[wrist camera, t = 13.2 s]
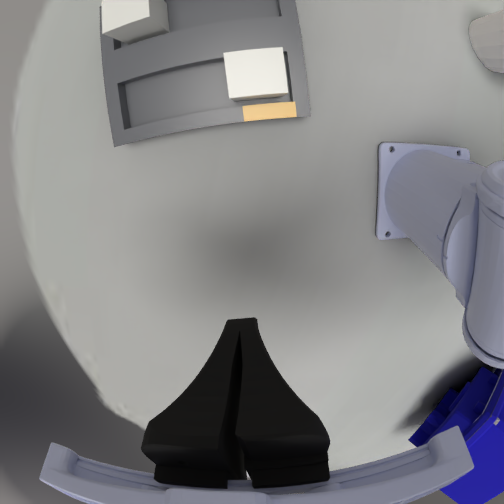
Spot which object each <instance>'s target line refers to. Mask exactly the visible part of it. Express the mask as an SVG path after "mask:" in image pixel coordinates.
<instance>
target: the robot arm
mask: <svg viewBox="0 0 504 504" xmlns="http://www.w3.org/2000/svg"><path fill="white" fill-rule="evenodd" d="M390 146H392V147H393V150H392V151H391V152H390V151H389V147H390ZM457 151H458V155H457ZM388 231H389V233H388V234H387V235H385V234H386V232H388ZM376 236H377V238H378V239H380V240H387V239H397V238H408V237H409V238H410V239H411V240H412V241H413V242H414V244H415V245H416V246H417V247H418V248H419V249H420V250H421V251H422V252H423V253H424V254H425V255H426V256H427V257H428V258H429V259H430V260H431V261H432V262H433V263H434V264H435V266H436V267H437V268H438V269H439V270H440V271H441V272H442V273H443V274H444V275H445V277H446V278H447V279H448V280H449V281H450V283H451V284H452V285H453V286H454V287H455V289H456V297H457V299H458V300H459V301H460V302H461V304H462V305H463V306H464V307H465V308H466V309H465V312H464V316H463V322H462V329H463V335H464V339H465V341H466V343H467V345H468V347H469V348H470V350H471V351H472V353H473V354H474V355H475V356H476V357H477V358H479V359H480V360H481V361H483V362H484V363H486V364H488V365H490V366H493V367H496V368H500V369H504V160H502V161H497V162H494V163H492V164H490V165H489V166H488V167H487V168H486V167H484V166H482V165H479V164H477V163H474V162H472V161H470V152H469V150H468V149H467V148H462V147H453V146H443V145H431V144H417V143H396V142H383V143H381V144H380V145H379V182H378V208H377V225H376ZM329 445H330V438H329V435H328V433H327V431H326V429H325V427H324V425H323V423H322V422H321V420H320V418H319V417H318V416H317V415H316V414H315V413H314V412H313V411H312V410H311V409H310V408H309V407H308V406H306V405H305V403H304V402H303V401H302V400H301V399H300V398H299V397H298V396H297V395H296V394H295V392H294V391H293V390H292V389H291V388H290V387H289V385H288V384H287V383H286V381H285V380H284V379H283V377H282V376H281V374H280V373H279V371H278V370H277V368H276V367H275V365H274V363H273V361H272V360H271V358H270V356H269V354H268V352H267V350H266V348H265V346H264V343H263V341H262V339H261V336H260V333H259V329H258V323H257V319H256V318H243V319H231V320H228V321H227V322H226V325H225V327H224V330H223V332H222V334H221V336H220V338H219V341H218V343H217V344H216V346H215V348H214V350H213V352H212V354H211V355H210V357H209V359H208V360H207V362H206V363H205V365H204V367H203V368H202V370H201V371H200V372H199V374H198V375H197V376H196V378H195V379H194V380H193V382H192V383H191V384H190V385H189V386H188V387H187V389H186V390H185V391H184V392H183V393H182V394H181V395H180V396H179V397H178V398H177V399H176V400H175V401H174V402H173V403H172V404H171V405H170V406H168V407H167V408H166V409H165V410H164V411H163V412H161V413H160V414H159V415H157V416H156V417H155V418H153V419H152V420H151V421H149V423H148V425H147V428H146V431H145V433H144V438H143V442H142V446H141V450H142V452H143V453H144V454H145V455H146V456H147V457H148V458H149V459H150V460H152V461H153V462H154V463H155V464H156V468H155V473H154V474H153V473H147V472H141V471H136V470H131V469H126V468H121V467H117V466H113V465H109V464H105V463H101V462H98V461H94V460H91V459H87V458H84V457H81V456H78V455H77V454H76V453H75V452H74V451H72V450H71V449H69V448H67V447H64V446H61V445H59V444H56V443H53V442H52V443H51V445H50V448H49V451H48V454H47V456H46V459H45V462H44V465H43V468H42V472H41V474H40V480H42V481H43V482H45V483H46V484H48V485H50V486H52V487H53V488H55V489H57V490H59V491H61V492H63V493H64V494H66V495H68V496H71V497H73V498H75V499H78V500H80V501H82V502H85V503H88V504H407V503H409V502H412V501H414V500H417V499H419V498H421V497H424V496H426V495H428V494H430V493H433V492H434V491H437V490H439V489H441V488H443V487H445V486H447V485H449V484H451V483H452V482H454V481H456V480H457V479H459V478H460V477H462V476H463V475H465V474H466V473H468V472H469V471H471V470H472V469H473V468H474V464H473V461H472V459H471V456H470V453H469V451H468V448H467V446H466V443H465V441H464V438H463V436H462V433H461V431H460V429H459V426H455V427H452V428H450V429H448V430H446V431H444V432H441V433H439V434H437V435H435V436H434V437H433V438H431V439H430V440H429V442H428V443H427V444H425V445H422V446H419V447H417V448H414V449H411V450H409V451H406V452H403V453H400V454H397V455H394V456H391V457H387V458H384V459H381V460H377V461H374V462H370V463H366V464H362V465H358V466H354V467H349V468H345V469H340V470H335V471H330V472H329V466H328V453H327V451H328V448H329ZM246 470H247V472H248V474H249V476H250V478H251V480H247V474H246ZM301 492H304V494H292V493H301ZM282 494H286V495H282Z"/></svg>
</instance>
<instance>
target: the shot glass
mask: <svg viewBox="0 0 504 504" xmlns="http://www.w3.org/2000/svg"><path fill="white" fill-rule="evenodd" d="M469 37H470V41H471V44H472V47H473V49H474V51H475V53H476V55H477V57H478V58H479V60H480V61H481V62H482V63H483V64H484V66H485V67H487V68H488V69H489V70H491V71H493V72H500V73H504V10H502V11H498V12H495V13H493V14H490V15H487V16H484V17H481V18H479V19H476V20H474V21H472V22H471V24H470V26H469Z"/></svg>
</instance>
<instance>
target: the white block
mask: <svg viewBox="0 0 504 504" xmlns="http://www.w3.org/2000/svg"><path fill="white" fill-rule="evenodd" d="M223 54H224V62H225V70H226V77H227V85H228V93H229V99H231V100H233V101H234V102H237V101H245V100H254V99H264V98H277V97H282V96H284V95H286V94H287V93H288V86H287V77H286V69H285V62H284V54H283V47H276V48H262V49H251V50H242V51H233V52H226V53H223Z"/></svg>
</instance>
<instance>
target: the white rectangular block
mask: <svg viewBox="0 0 504 504" xmlns="http://www.w3.org/2000/svg"><path fill="white" fill-rule="evenodd" d="M166 33H170V31H169V21H168V9H167V3H166V2H165V1H164V0H103V1H102V34H104V35H107V36H109V37H112V38H114V39H117V40H119V41H122V42H124V43H126V44H129V45H130V44H133V43H136V42H139V41H142V40H145V39H148V38H152V37H155V36H159V35H162V34H166Z"/></svg>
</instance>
